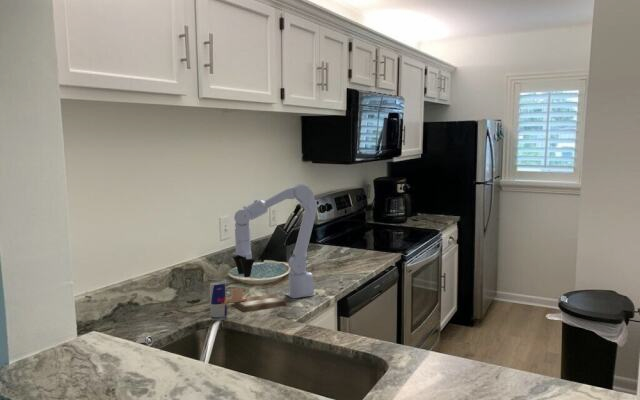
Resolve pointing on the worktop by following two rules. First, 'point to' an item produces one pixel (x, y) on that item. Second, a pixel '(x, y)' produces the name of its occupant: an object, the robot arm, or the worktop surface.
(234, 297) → the peach plate with block
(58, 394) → the worktop surface
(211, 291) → the energy drink
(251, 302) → the board
